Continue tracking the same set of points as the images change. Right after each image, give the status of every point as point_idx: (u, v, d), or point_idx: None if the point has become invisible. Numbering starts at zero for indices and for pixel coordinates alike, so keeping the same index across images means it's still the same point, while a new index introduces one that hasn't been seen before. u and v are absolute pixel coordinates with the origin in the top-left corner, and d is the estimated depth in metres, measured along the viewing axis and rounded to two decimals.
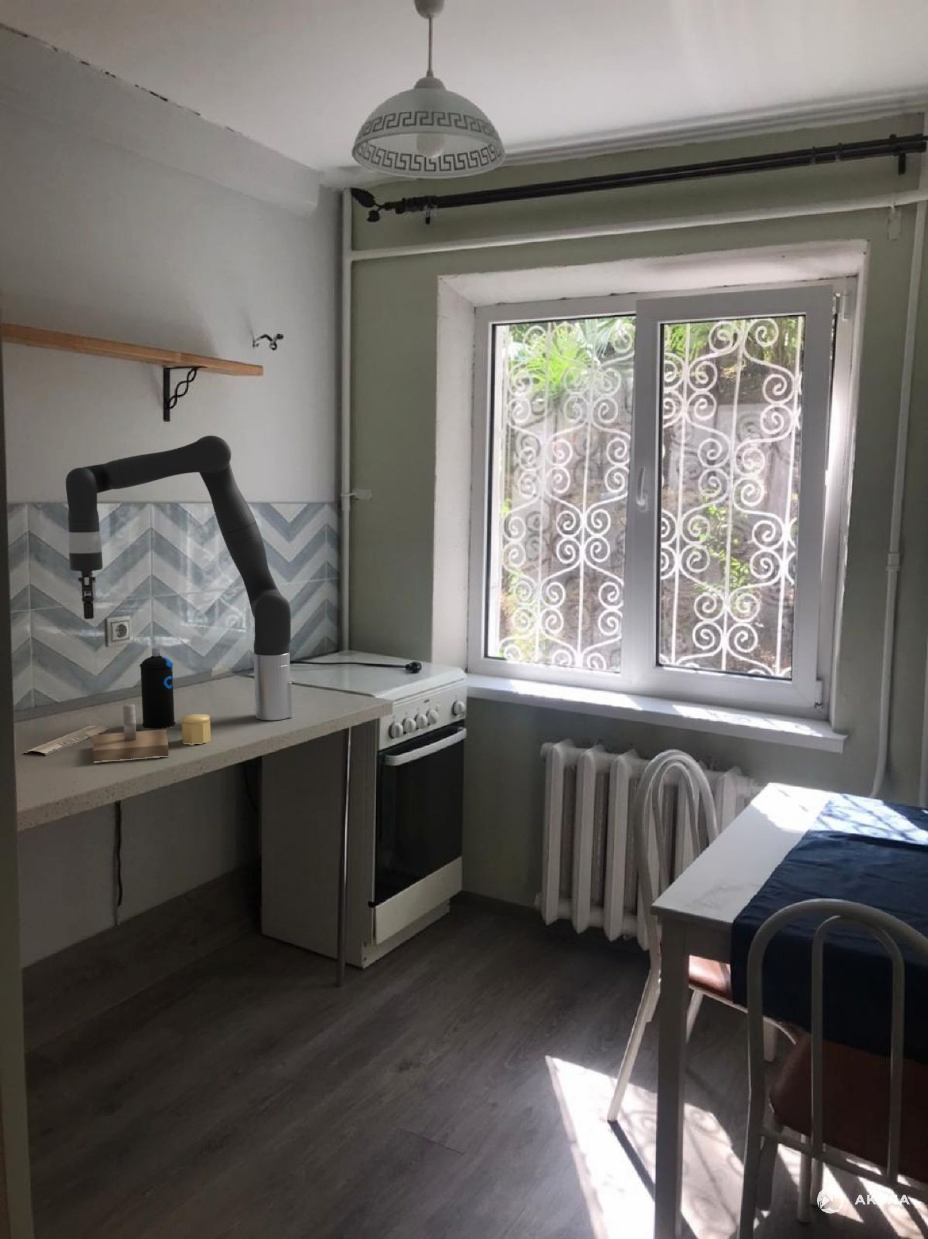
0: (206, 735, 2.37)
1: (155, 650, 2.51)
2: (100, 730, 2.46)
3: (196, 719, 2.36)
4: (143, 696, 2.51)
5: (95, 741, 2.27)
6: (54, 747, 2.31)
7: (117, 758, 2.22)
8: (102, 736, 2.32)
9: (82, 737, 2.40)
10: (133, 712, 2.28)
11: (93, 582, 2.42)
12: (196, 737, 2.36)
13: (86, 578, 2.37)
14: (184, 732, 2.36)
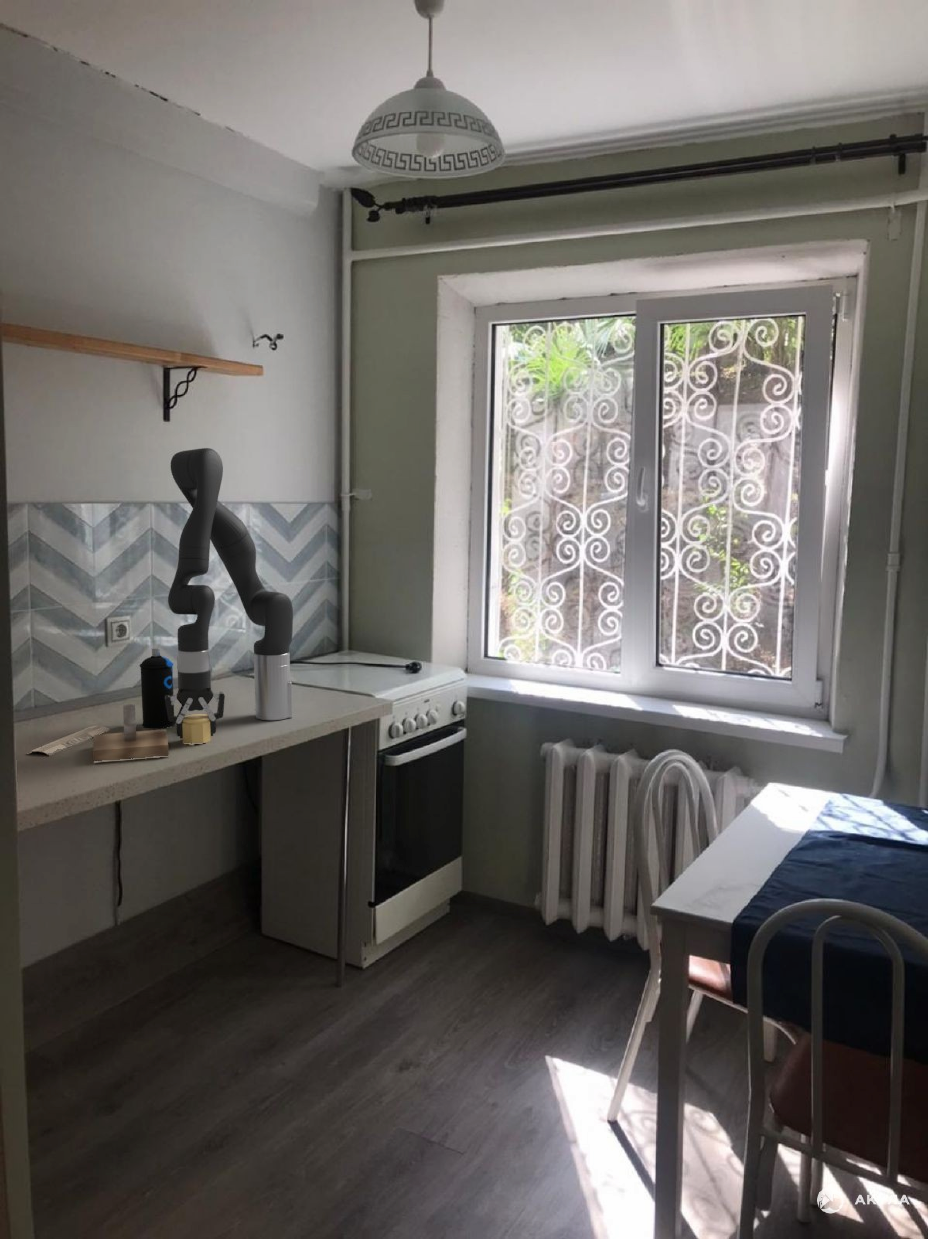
0: (206, 735, 2.37)
1: (155, 650, 2.51)
2: (102, 731, 2.46)
3: (196, 719, 2.36)
4: (143, 696, 2.51)
5: (95, 741, 2.27)
6: (57, 747, 2.30)
7: (117, 758, 2.22)
8: (102, 736, 2.32)
9: (84, 737, 2.40)
10: (133, 712, 2.28)
11: None
12: (196, 737, 2.36)
13: (223, 694, 2.40)
14: (184, 732, 2.36)
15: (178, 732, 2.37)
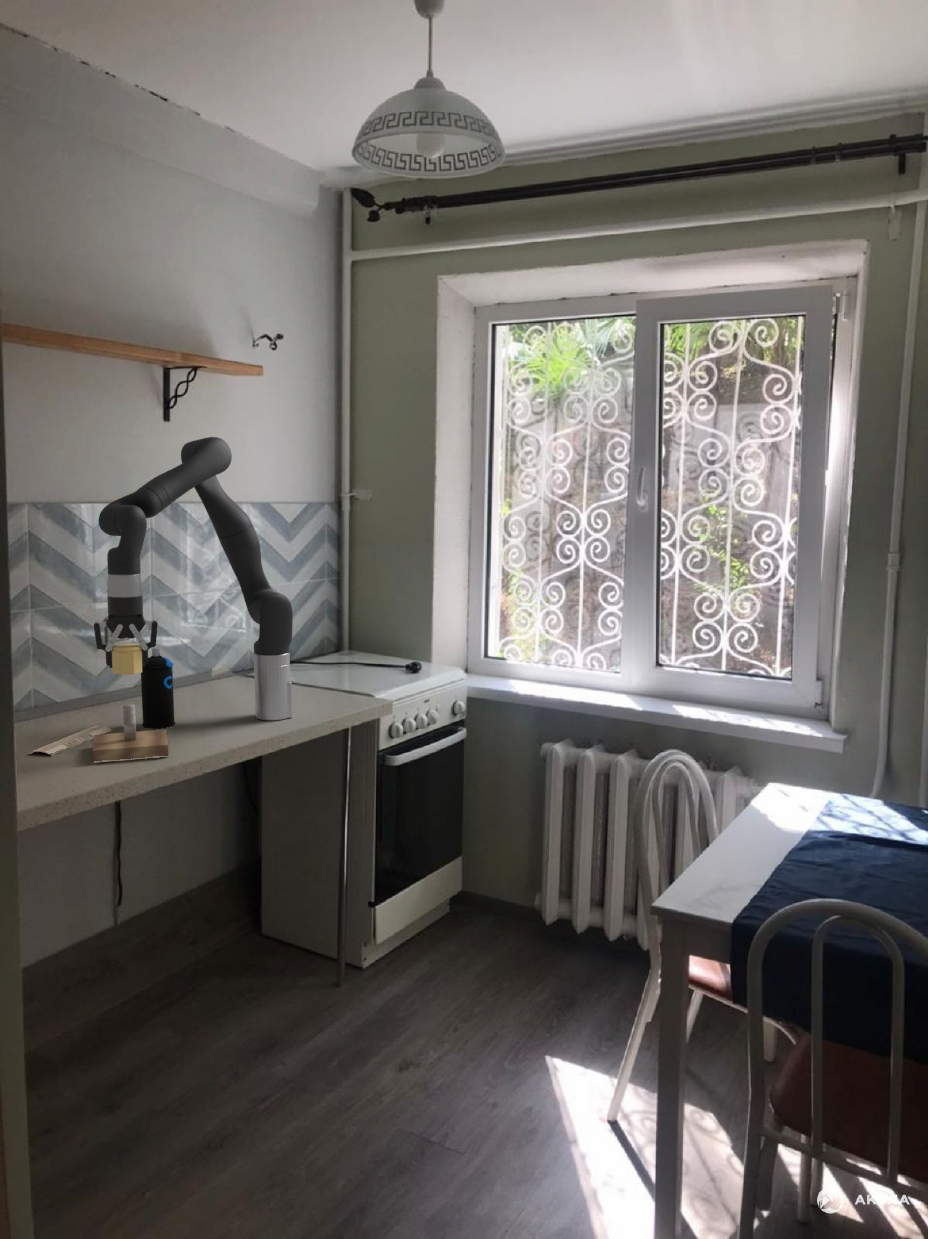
0: (137, 665, 2.25)
1: (155, 650, 2.51)
2: (104, 731, 2.46)
3: (126, 647, 2.24)
4: (143, 696, 2.51)
5: (95, 741, 2.27)
6: (59, 747, 2.30)
7: (117, 758, 2.22)
8: (102, 736, 2.32)
9: (86, 737, 2.40)
10: (133, 712, 2.28)
11: None
12: (126, 666, 2.24)
13: None
14: (113, 661, 2.24)
15: (107, 661, 2.25)
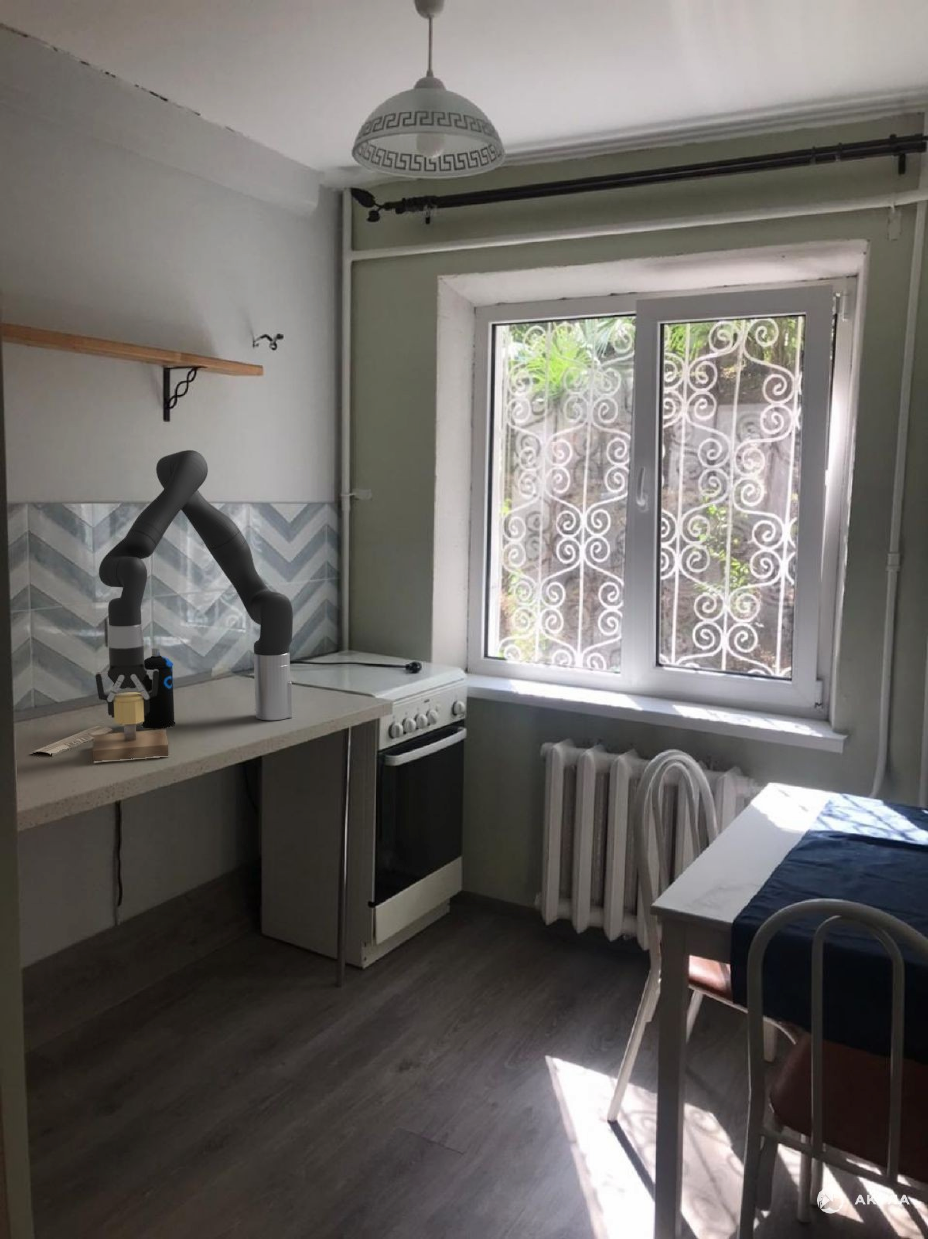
0: (139, 714, 2.27)
1: (155, 650, 2.51)
2: (105, 731, 2.46)
3: (128, 697, 2.25)
4: None
5: (95, 741, 2.27)
6: (60, 747, 2.30)
7: (117, 758, 2.22)
8: (102, 736, 2.32)
9: (87, 737, 2.40)
10: None
11: None
12: (128, 716, 2.25)
13: None
14: (115, 711, 2.26)
15: (109, 711, 2.26)
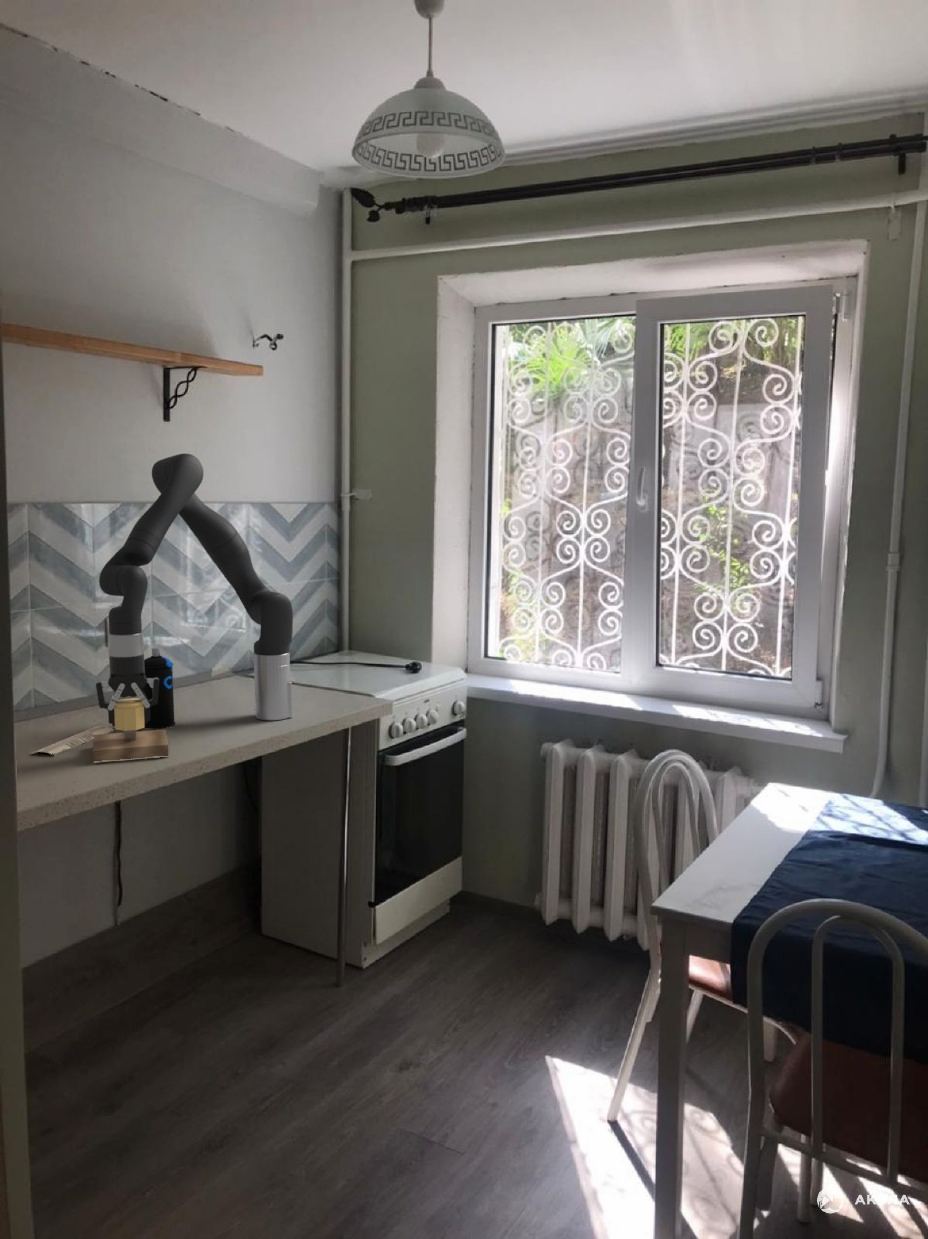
0: (139, 720, 2.27)
1: (155, 650, 2.51)
2: (106, 731, 2.46)
3: (129, 703, 2.26)
4: None
5: (95, 741, 2.27)
6: (62, 748, 2.30)
7: (117, 758, 2.22)
8: (102, 736, 2.32)
9: (89, 738, 2.40)
10: None
11: None
12: (128, 722, 2.25)
13: (158, 679, 2.29)
14: (116, 717, 2.26)
15: (110, 719, 2.26)
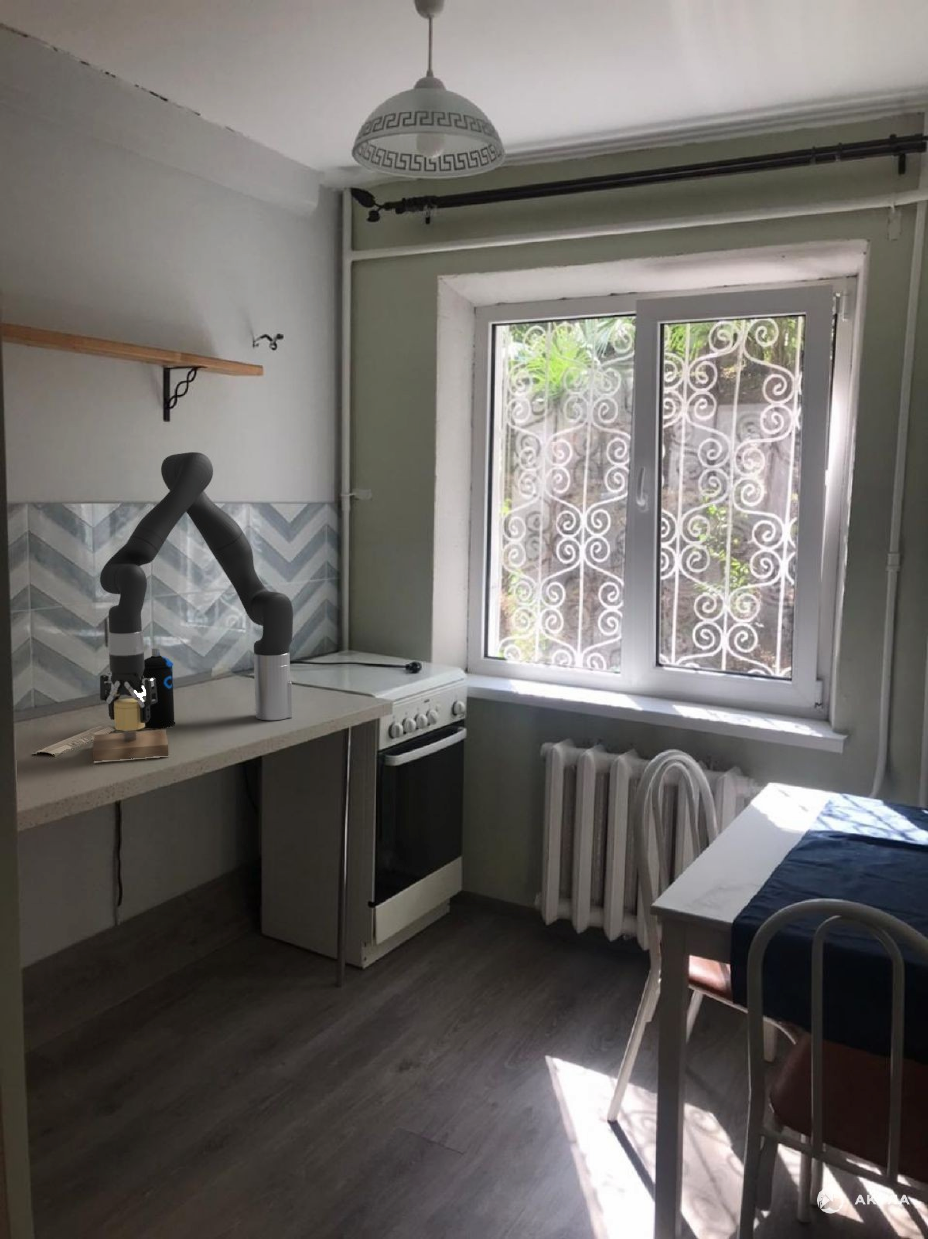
0: (130, 722, 2.26)
1: (155, 650, 2.51)
2: (107, 731, 2.46)
3: (121, 703, 2.26)
4: None
5: (95, 741, 2.27)
6: (63, 748, 2.30)
7: (117, 758, 2.22)
8: (102, 736, 2.32)
9: (90, 738, 2.39)
10: None
11: None
12: (119, 722, 2.26)
13: (151, 680, 2.25)
14: (114, 715, 2.28)
15: (110, 712, 2.29)
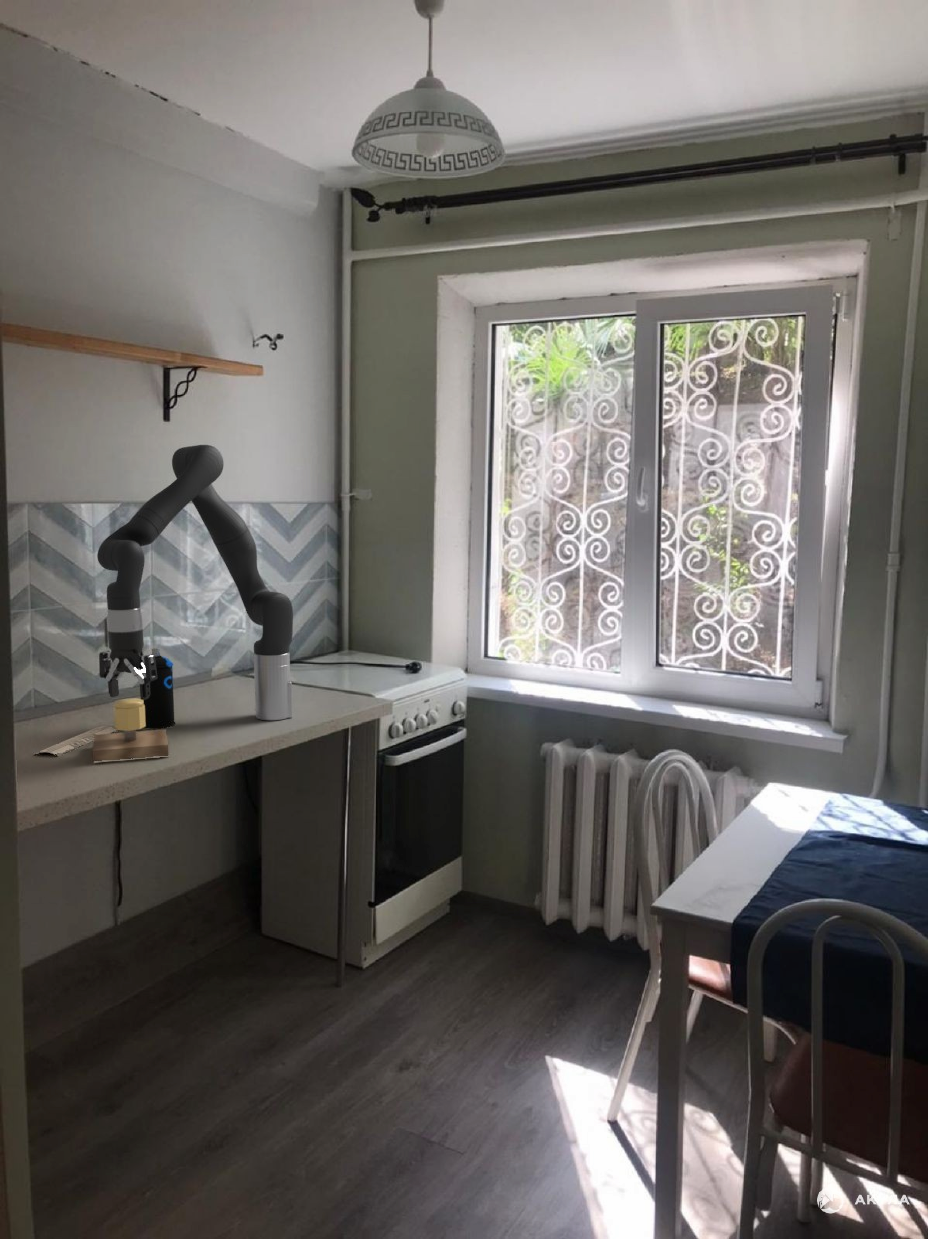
0: (121, 722, 2.25)
1: (155, 650, 2.51)
2: (110, 731, 2.46)
3: (118, 702, 2.27)
4: None
5: (95, 741, 2.27)
6: (65, 748, 2.30)
7: (117, 758, 2.22)
8: (102, 736, 2.32)
9: (92, 738, 2.39)
10: None
11: None
12: (115, 720, 2.27)
13: (151, 656, 2.24)
14: None
15: (109, 690, 2.29)
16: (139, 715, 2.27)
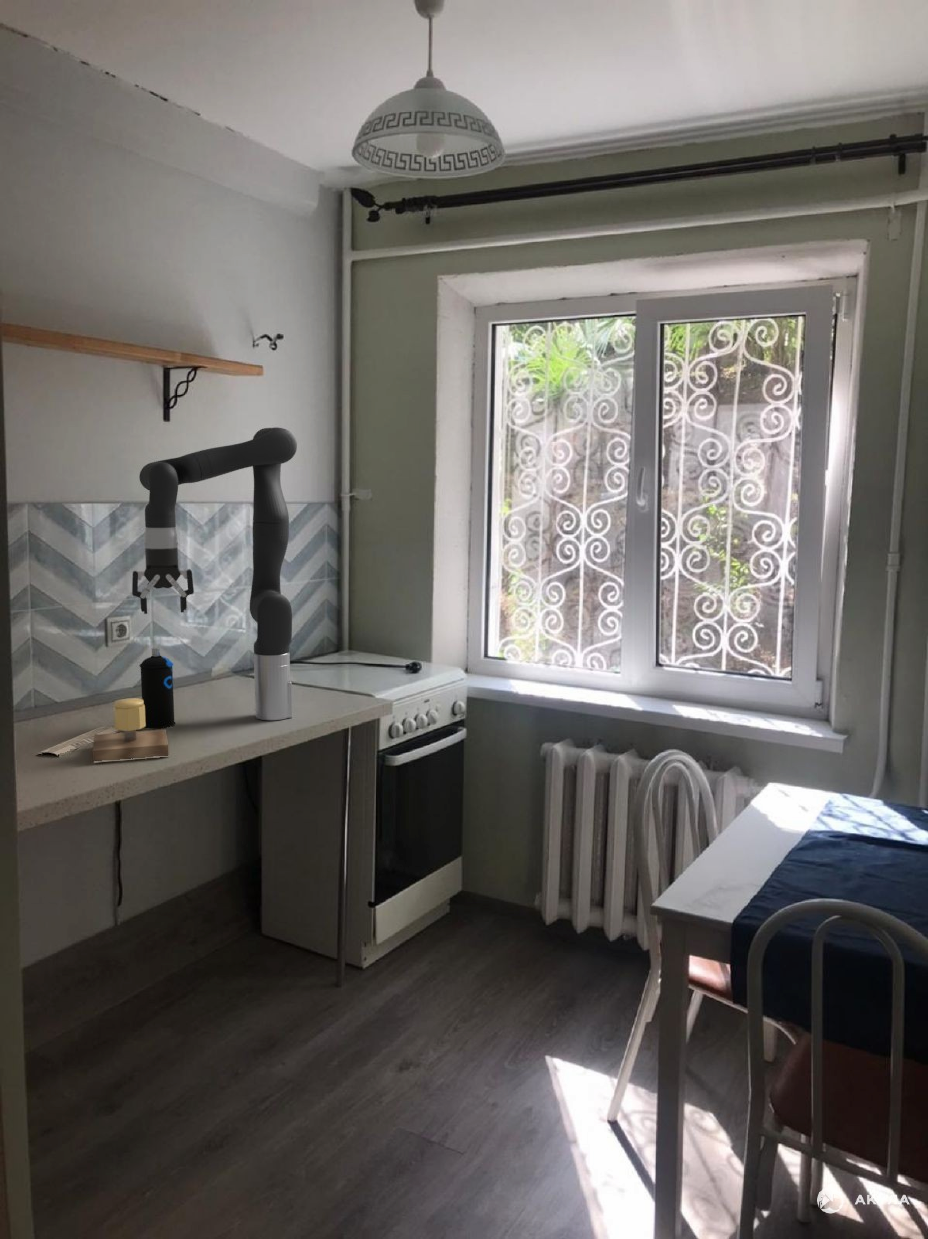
0: (121, 722, 2.25)
1: (155, 650, 2.51)
2: (111, 731, 2.46)
3: (118, 702, 2.27)
4: (143, 696, 2.51)
5: (95, 741, 2.27)
6: (67, 748, 2.30)
7: (117, 758, 2.22)
8: (102, 736, 2.32)
9: None
10: None
11: None
12: (115, 720, 2.27)
13: None
14: None
15: (142, 607, 2.40)
16: (139, 715, 2.27)
